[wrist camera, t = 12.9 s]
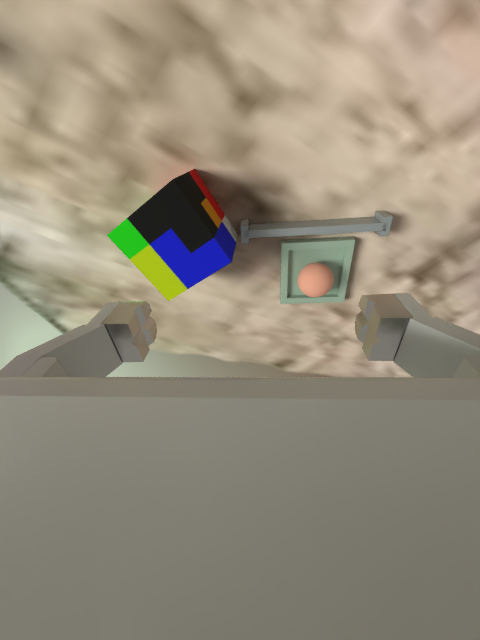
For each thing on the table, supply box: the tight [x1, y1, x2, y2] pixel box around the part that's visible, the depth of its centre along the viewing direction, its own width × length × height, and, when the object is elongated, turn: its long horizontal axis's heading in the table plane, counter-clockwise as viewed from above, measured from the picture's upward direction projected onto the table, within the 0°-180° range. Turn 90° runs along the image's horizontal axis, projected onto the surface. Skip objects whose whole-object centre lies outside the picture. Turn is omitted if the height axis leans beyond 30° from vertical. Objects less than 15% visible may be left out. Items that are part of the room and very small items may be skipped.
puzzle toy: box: [107, 169, 238, 301], centre depth 33 cm, size 10×10×10 cm
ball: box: [298, 263, 334, 297], centre depth 37 cm, size 5×5×5 cm
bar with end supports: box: [240, 211, 393, 244], centre depth 35 cm, size 2×19×3 cm, turn 94°
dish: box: [280, 236, 355, 304], centre depth 39 cm, size 10×10×2 cm
